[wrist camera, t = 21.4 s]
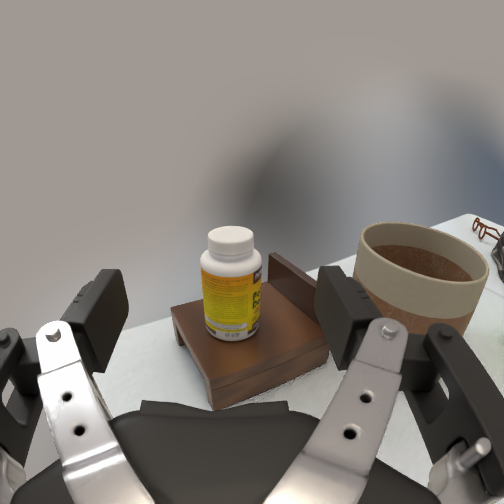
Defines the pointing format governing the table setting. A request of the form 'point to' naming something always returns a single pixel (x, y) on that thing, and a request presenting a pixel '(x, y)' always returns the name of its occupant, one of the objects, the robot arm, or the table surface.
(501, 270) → the shoe
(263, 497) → the robot arm
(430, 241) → the planter
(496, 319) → the table surface
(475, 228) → the glasses
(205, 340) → the shelf
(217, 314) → the supplement bottle
